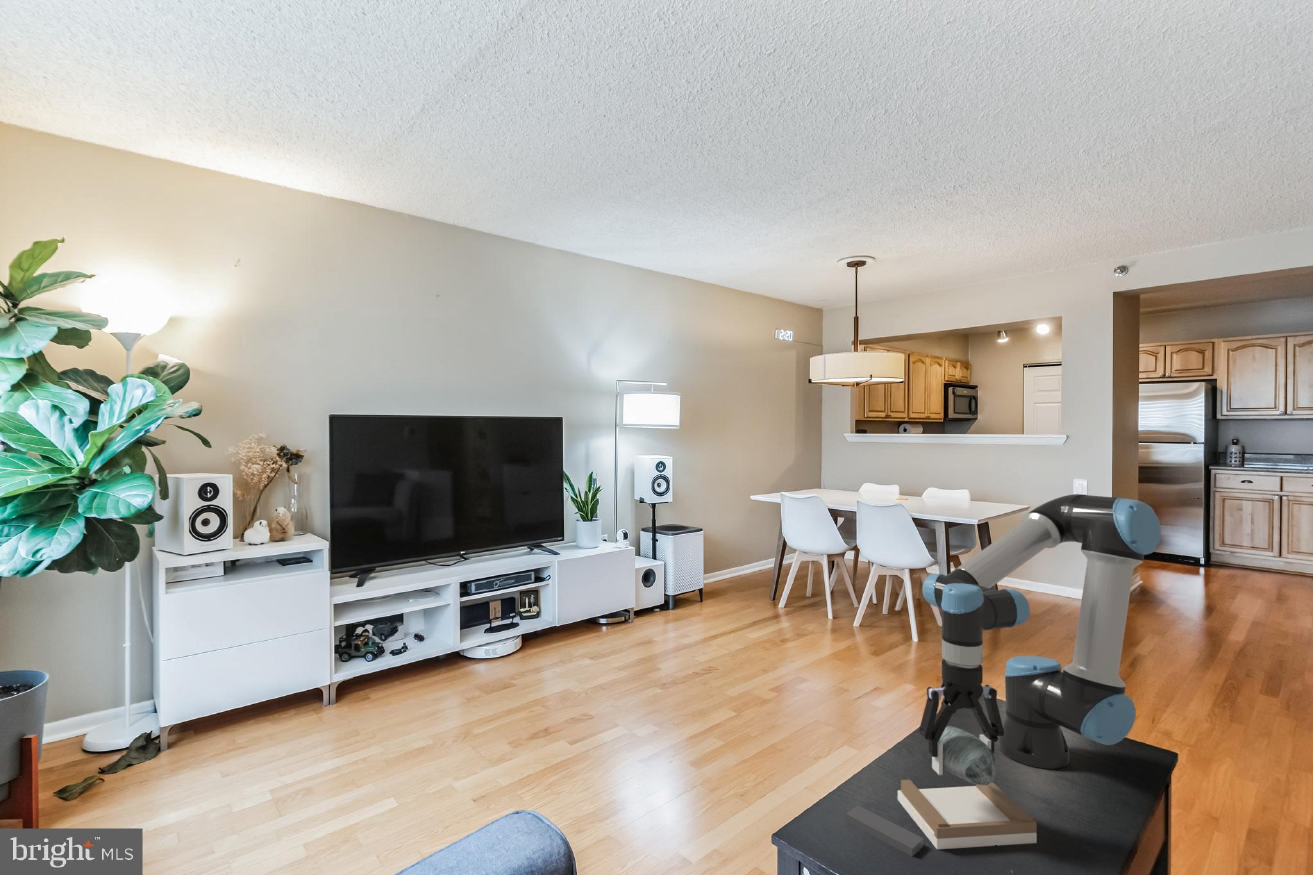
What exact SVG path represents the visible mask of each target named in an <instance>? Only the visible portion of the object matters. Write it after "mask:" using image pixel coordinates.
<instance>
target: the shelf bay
mask: <svg viewBox="0 0 1313 875" xmlns="http://www.w3.org/2000/svg"><path fill="white" fill-rule="evenodd" d="M897 801H898V802H899V803H900V804H901V806H902V807H903V809H904V810H905V811H906V812H907V813H908V815H909V816H910V818H911V819H912V820H913V822H915V823H916V824H917V826H918V827H919V828H920V830H921V831H922V832H923V834H925V836H926V838H927V839H928V840H929V841H930V842H931V843H932V845H933V846H934V847H935V849H936V850H946V849H948V850H949V849H963V848H965V849H967V848H979V847H980V848H981V847H993V846H995V845H997V846H1009V845H1010V846H1011V845H1026V844H1037V824H1038V823H1037V821H1036V820H1035V819H1034V818H1032V816H1030V815H1029V814H1028V813H1027V812H1026V811H1025V810H1024V809H1023V808H1022V807H1021V806H1020V805H1018V804H1017V803H1016V801H1015V800H1013V799H1012V798H1010V796H1009V795H1007V794H1006V793H1005V792H1004V791H1003V790H1002V789H1001V788H999V787H998V786H997V785H996V783H995V782H994V781H993V782H992V783H990V784H989V785H977V784H975V785H970V786H967V785H966V786H954V787H953V786H952V787H937V788H936V787H934V788H933V787H931V788H918V787H917V786H916V784H914V782H913V781H912V780H911V779H901V780H900V789H898V790H897ZM995 847H996V846H995Z"/></svg>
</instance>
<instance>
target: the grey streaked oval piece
mask: <svg viewBox="0 0 1313 875" xmlns="http://www.w3.org/2000/svg"><path fill="white" fill-rule="evenodd" d="M940 741H941V742H942V743H943V769H944V770H946V771H947V772H948V773H950V774H952V775H954V776H956V777H958V778H960V779H962V780H963V781H966V782H968V783H971V784H973V785H976V784H977V785H989V784H990V783H992V782H993V783H994V780H995V778H996V774H997V765H996V758H995V756H994V754H993V753H992V751H991V749H990V748H989V747H988V746H987V745H986V744H985V743H984V742H983V741H981V740H980V737H977V736H976V735H974V734H972V733H970V732H968V731H966V730H964V729H961V728H959V727H955V726H950V725H947V726H946V728H945V730H944V732H943V734H942V736H941V738H940Z"/></svg>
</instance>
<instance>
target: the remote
mask: <svg viewBox="0 0 1313 875" xmlns="http://www.w3.org/2000/svg"><path fill="white" fill-rule="evenodd" d="M845 822H846V823H847V824H850V825H852V826H853V827H856V828H857V829H859V830H861V831H863V832H865V833H867V834H869V835H871V836H872V837H874V838H875V839H878V840H879V841H882V842H884V843H885V844H887V845H890V846H891V847H894V848H895V849H897V850H899V851H901V852H903V853H905V854H907V855H908V856H910V857H914V856H915V855H916V854H917V853H918V852H919V851H920V850H921V849H922V848H923V847H924V837H922V836H920V835H918V834H915V833H914V832H912V831H910V830H908V829H906V828H904V827H902V826H900V825H898V824H896V823H894V822H892V821H889V820H888V819H886V818H884V817H882V816H880V815H877V814H876V813H873V812H872V811H870V810H868V809H866V808H864V807H862V806H860V805H856V806H855V807H854V808H852V809H851V810H849V811H847V813H846V814H845Z"/></svg>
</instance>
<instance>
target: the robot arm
mask: <svg viewBox="0 0 1313 875" xmlns="http://www.w3.org/2000/svg"><path fill="white" fill-rule="evenodd" d="M1021 518H1022V519H1021V522H1020V523H1019V524H1018V525H1017V526H1015V527H1014V528H1013V529H1011V530H1010V531H1008V532H1007V533H1005V534H1003V535H1002V536H1001V537H999V538H998V539H996V540H995V541H994V542H992V543H991V544H989V545H987V546H986V547H985V548H984V549H982V550H981V551H979V552H978V553H977V554H975V555H974V556H972V557H971V558H969V559H968V560H966V561H965V562H964V563H962V564H961V565H959V566H958V567H957V568H955V569H954V570H952V571H950V572H949V573H948V574H946V575H945V574H943V573H933V574H930V575H928V576H927V577H926V578H925V580H924V582H923V584H922V596H923V598H924V600H925V601H926V602H927V603H928V604H930V605H931V606H933V607H936V608H938V609H939V610H941V658H942V660H941V679H942V682H941V685H940V687H938V688H933V687H932V686H928V687H927V688H926V697H927V698H926V702H925V706H924V710H923V714H922V717H921V721H920V726H919V728H918V733H919V734H920V735H921V736H922V737H923V738H924V739H925V740H928V753H929V754H930V756H931V768H932V769H933V771H934V772H936V773H937V775H938V776H943V773H944V772H943V771H944V770H943V769H944V768H943V743H942V742H941V741H940V738H941V736H942V734H943V732H944V730H945V728H946V726H948V724H949V722H950V720H951V718H952V717H953V714H956V712H957V711H958V710H962V709H970V710H971V712H972V713H973V715H974V717H975V719H976V721H977V723H978V724H979V727H980V729H981V732H982V733H983V734H982V733H981V734H979V739H980V740H981V741H983V742H984V743H985V744H986V745H987V746H988V747H989V748H990V749H991V751H992V753H993V755H994V753H995V743H996V742H997V747H998V749H999V750H1000V752H1001V753H1002V754H1003V755H1005V756H1007V757H1008V758H1009V759H1011V760H1014V761H1015V762H1019V763H1021V764H1023V765H1027V766H1031V767H1034V768H1041V769H1051V770H1054V769H1062V768H1064V767H1066V766H1069V764H1070V762H1071V761H1070V760H1071V759H1070V753H1071V752H1070V749H1069V746H1068V744H1067V740H1066V738H1065V735H1064V732H1063V730H1062V728H1065V729H1067V730H1068V731H1069V730H1070V731H1071V732H1074V733H1076V734H1078V735H1080V736H1082V737H1083V738H1084V739H1086V740H1091V741H1094V742H1096V743H1098V744H1102V745H1106V746H1112V745H1115V744H1116V745H1117V743H1119V742H1121V741H1122V740H1123V739H1124V738H1125V737H1127V736H1128V734H1129V733H1130V732H1131V730H1132V729H1133V727H1134V724H1135V720H1136V715H1137V714H1136V713H1137V711H1136V710H1137V708H1136V707H1135V702H1134V701H1133V699H1132V698H1130V697H1129V696H1128V695H1126V686H1127V685H1126V683H1125V682H1124V680H1123V679H1122V678H1121V677H1120V675H1119V673H1120V668H1121V667H1120V666H1121V660H1122V654H1123V653H1122V652H1123V646H1124V645H1123V644H1124V639H1125V632H1126V625H1127V618H1128V617H1127V616H1128V611H1129V603H1130V597H1131V596H1130V595H1131V590H1132V582H1133V575H1134V570H1135V568H1136V567H1138V566H1139V565H1142V564H1143V563H1144V559H1145V555H1150V554H1152V553H1154V552H1155V551H1156V550H1157V547H1158V546H1159V544H1160V542H1161V537H1162V534H1161V533H1162V530H1161V524H1160V519H1159V517H1158V516H1157V514H1156V513H1155V510H1154V509H1153V507H1151V506H1150V505H1148V504H1147V503H1145V502H1143V501H1140V500H1136V499H1131V498H1126V497H1125V498H1124V497H1113V496H1112V497H1111V496H1100V495H1088V494H1080V493H1075V494H1068V495H1063V496H1061V497H1056V498H1054V499H1051V500H1049V501H1047V502H1045V503H1043V504H1041V505H1039V506H1036V507H1034V509H1032V510H1030V511H1029V512H1028V513H1026V514H1025V515H1024V516H1023V517H1021ZM1067 542H1069V543H1071V542H1073V543H1078V544H1081V545H1080V547H1081V548H1080V551H1081V553H1082V554H1083V555H1084V556H1085V557H1086V559H1087V561H1086V567H1085V575H1084V580H1083V581H1084V582H1083V589H1082V595H1081V602H1080V608H1079V616H1078V621H1077V628H1076V635H1075V642H1074V650H1073V658H1072V662H1071V663H1069V664H1067V665H1065V666H1064V667H1062V664H1061V663H1060V662H1059V661H1058V660H1056V659H1054V658H1049V657H1044V656H1036V655H1020V656H1013V657H1011V658H1009V659H1008V660H1007V661H1006V668H1005V674H1004V676H1005V678H1004V679H1005V681H1004V682H1005V687H1004V688H1005V717H1004V719H1003V722H1002V718H1001V713H1000V709H999V705H998V703H997V697H998V690H997V689H995V688H994V687H993V686H991V685H989V684H985V685H983V686H982V683H983V682H984V681H983V679H984V678H983V677H984V676H983V671H984V670H983V666H982V663H983V662H984V658H983V657H984V656H983V655H984V654H983V651H984V648H983V646H984V645H983V643H984V640H983V639H984V631H990V630H998V629H1005V628H1014V627H1017V626H1019V625H1023V624H1025V623H1026V622H1027V621H1028V620H1029V618H1030V614H1031V605H1030V604H1029V602H1028V601H1029V600H1027V598H1026V596H1025V595H1024V594H1023V593H1022V592H1021V591H1018V590H1016V589H1008V588H1001V589H994V588H992V587H994V586H995V585H997V584H998V583H1000V581H1002V580H1004V579H1005V578H1007V576H1010V574H1012V573H1013V572H1015V571H1016V570H1017V569H1019V568H1020V567H1021V566H1023V565H1024V564H1026V563H1027V562H1028V561H1030V560H1031V559H1032V558H1034V557H1035V556H1037V555H1038V554H1039V553H1041V552H1042V551H1043V550H1045V549H1054V548H1055V547H1057V546H1058V545H1060V544H1062V543H1067ZM942 695H943V696H944V697H943V698H942ZM982 696H983V700H984V703H985V704H984V705H985V707H986V711H987V712H986V713H987V715H988V716H986V714H985V713H984V711H983V710H984V708H983V707H982V705H981V703H980V702H979V700H980V699H981V697H982ZM941 700H942V701H941ZM940 701H941V703H940ZM940 705H941V706H940ZM939 706H940V708H939ZM988 720H989V721H988Z"/></svg>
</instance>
